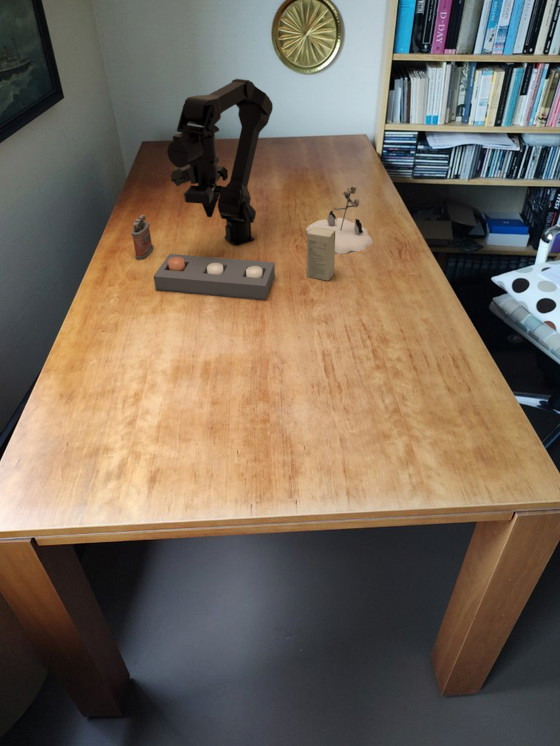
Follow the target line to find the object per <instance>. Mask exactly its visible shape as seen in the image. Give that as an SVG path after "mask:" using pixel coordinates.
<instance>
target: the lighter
mask: <svg viewBox="0 0 560 746" xmlns="http://www.w3.org/2000/svg"><path fill="white" fill-rule="evenodd" d="M146 220H147V219H146V215H145V214H140V215H139V217H138V218H135V219H134V222H133V224H132V226H133V229H132V230H131V232H130V234H131V237H132V241H133V246H134V250H135V251H134V253H135V259H136V260H138V261H142V260H144V259H147V257H149V255H150V254H151V253H152V252H153V251H154V245H153V242H152V237H151V230H150V222H148V221H146Z"/></svg>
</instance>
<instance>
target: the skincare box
mask: <svg viewBox="0 0 560 746" xmlns="http://www.w3.org/2000/svg"><path fill="white" fill-rule="evenodd" d="M335 254H336V253H335V230H331V229H325V228H319V227H312V228H311V229H310V230H309V231H308V232H307V231H306V277H307V278H312V279H316V280H322V281H327V282H328V281H330V279H331V278H332V277H333V276H334V274H335V259H336V258H335V257H336V255H335Z"/></svg>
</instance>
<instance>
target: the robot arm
mask: <svg viewBox="0 0 560 746" xmlns="http://www.w3.org/2000/svg"><path fill="white" fill-rule="evenodd" d="M233 106H236V107H237V108H238V113H237V114H238V118H239V122H240V126H241V128H240V133H239V134H240V135H239V137H238V138H239V139H238V141H237V143H238V144H237V148H236V151H235V156H234V161H233V165H232V170H231V175H230V179H229V182H228V183H227V184H226V186H222V185H218V184H217V183H218V182H219V180H220V179H222V181H226V180H227V179H228V175H229V174H228V173H229V172H228V169H227V167H225V166H223V165H222V166H220V165H219V166H218V163H219V161H220V157H219V156H217V149H216V148H217V146H216V136H215V133H218V132H220V128H219V127H218V126H217V125H216V124H217V123H218V122H219V121H220V120H221V117H222V113H224V112H225V111H227V110H229V109H230V108H233ZM272 112H273V102H272V100H271V99H270V97H269V96H268V94H267V93H266V92H265V91H262V90H261V89H260V88H259V87H257V86H256V85H255V84H254V82H252V81H251V80H249V79H242V78H235V79H232V80H231V82H230V83H228V84H226V85H224V86H222V87H220V88H218V89H217V90H214V91H213V92H211V93H208V94H203V95H202V94H201V95H199V94H198V95H192V96H188V97H187V98H186V99H185V100H184V103H183V106H182V110H181V114H180V117H179V121H178V123H177V124H178V125H177V129H176V132H178V133H179V134H174V135H173V136H172V142H170V143H169V145H168V146H167V153H166V154H167V158H168V159H169V161H170V162H171V164H173V166H174V167H176V168H175V169H173V170H171V173H170V181H171V183H173V184H175V186H176V187H179V186H181V185H183V184H185V183H188V182H190V184H191V185H190V186H189V187H188V188H187V190H186V191H184V194H183V197H184V202H185V203H187V204H188V203H189V204H201V205H202V208H203V210H204V212H205V214H206V217H207V218H212V217H213V215H214V212H215V210H216V205H217V209H218V212H219V215H220V219H222V220H225V222H226V223H225V224H226V225H225V226H224V228H225V229H224V230H225V236H224V239H225V240H226V241H228V242H229V243H231V244H233V245H234V246H239V245H243V244H246V243H249V242H253V241H255V238H254V237H253V236H252V227H251V226H252V225H251V223H254V220H255V219H256V215H257V214H256V213H257V211H256V210H255V208H254V207H253V206H252V205H251V195H250V191H249V188H248V186H249V182H250V181H249V180H250V175H251V173H252V167H253V164H254V163H253V162H254V160H255V159H254V158H255V154H256V150H257V145H258V141H259V137H260V133H261V132H262V130H263V129H265V127H266V126H267V125H268V123H269V120H270V118H271V114H272ZM195 184H197V185H195Z"/></svg>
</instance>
